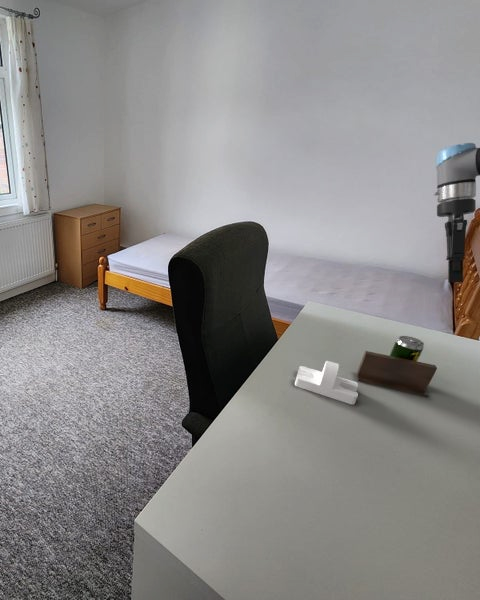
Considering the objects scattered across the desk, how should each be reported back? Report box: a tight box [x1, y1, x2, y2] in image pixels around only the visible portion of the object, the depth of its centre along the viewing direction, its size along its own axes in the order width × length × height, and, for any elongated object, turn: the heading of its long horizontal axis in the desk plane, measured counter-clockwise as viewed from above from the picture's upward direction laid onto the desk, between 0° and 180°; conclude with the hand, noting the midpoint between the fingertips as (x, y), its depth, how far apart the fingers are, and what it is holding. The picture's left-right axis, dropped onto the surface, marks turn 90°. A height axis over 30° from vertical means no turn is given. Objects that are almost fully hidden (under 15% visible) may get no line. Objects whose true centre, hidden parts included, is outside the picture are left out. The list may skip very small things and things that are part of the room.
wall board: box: [355, 350, 438, 398], centre depth 88 cm, size 14×3×8 cm, turn 60°
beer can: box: [389, 335, 425, 362], centre depth 90 cm, size 5×5×12 cm
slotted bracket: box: [294, 360, 359, 405], centre depth 88 cm, size 13×7×8 cm, turn 53°
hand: (455, 282), depth 99 cm, fingers closed
